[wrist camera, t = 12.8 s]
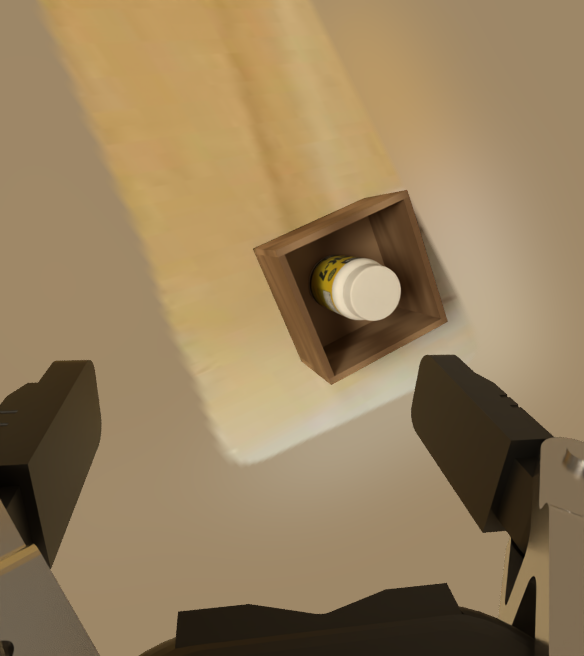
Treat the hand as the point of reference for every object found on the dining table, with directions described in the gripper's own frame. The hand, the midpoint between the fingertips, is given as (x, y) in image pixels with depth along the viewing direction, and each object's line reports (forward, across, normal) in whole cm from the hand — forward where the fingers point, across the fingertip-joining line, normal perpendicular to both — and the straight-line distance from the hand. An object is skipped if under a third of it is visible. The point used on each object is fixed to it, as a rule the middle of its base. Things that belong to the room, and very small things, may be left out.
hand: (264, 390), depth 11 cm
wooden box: (+28, -9, +6) cm, 30 cm away
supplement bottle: (+27, -9, +6) cm, 29 cm away
